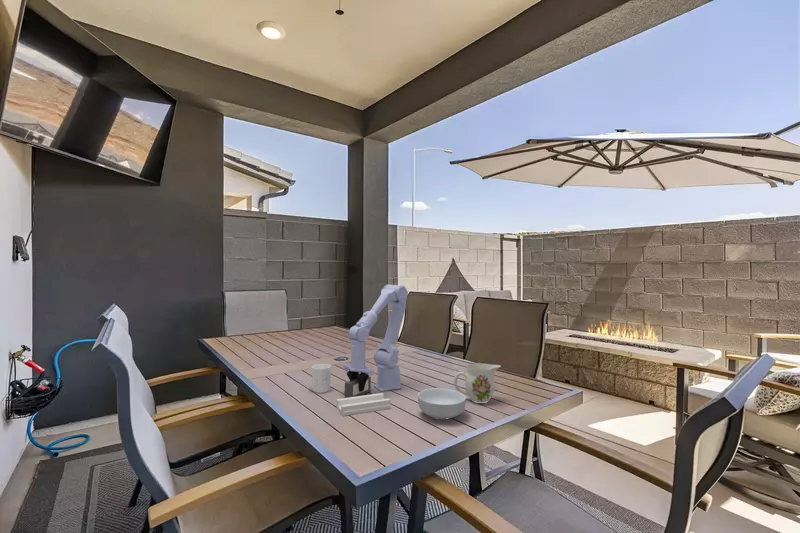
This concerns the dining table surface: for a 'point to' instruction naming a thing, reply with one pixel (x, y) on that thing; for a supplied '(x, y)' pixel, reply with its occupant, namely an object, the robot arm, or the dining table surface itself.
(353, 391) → the grey rectangular block
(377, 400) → the ledge
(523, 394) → the dining table surface
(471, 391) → the pitcher
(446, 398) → the cereal bowl
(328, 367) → the white cup
